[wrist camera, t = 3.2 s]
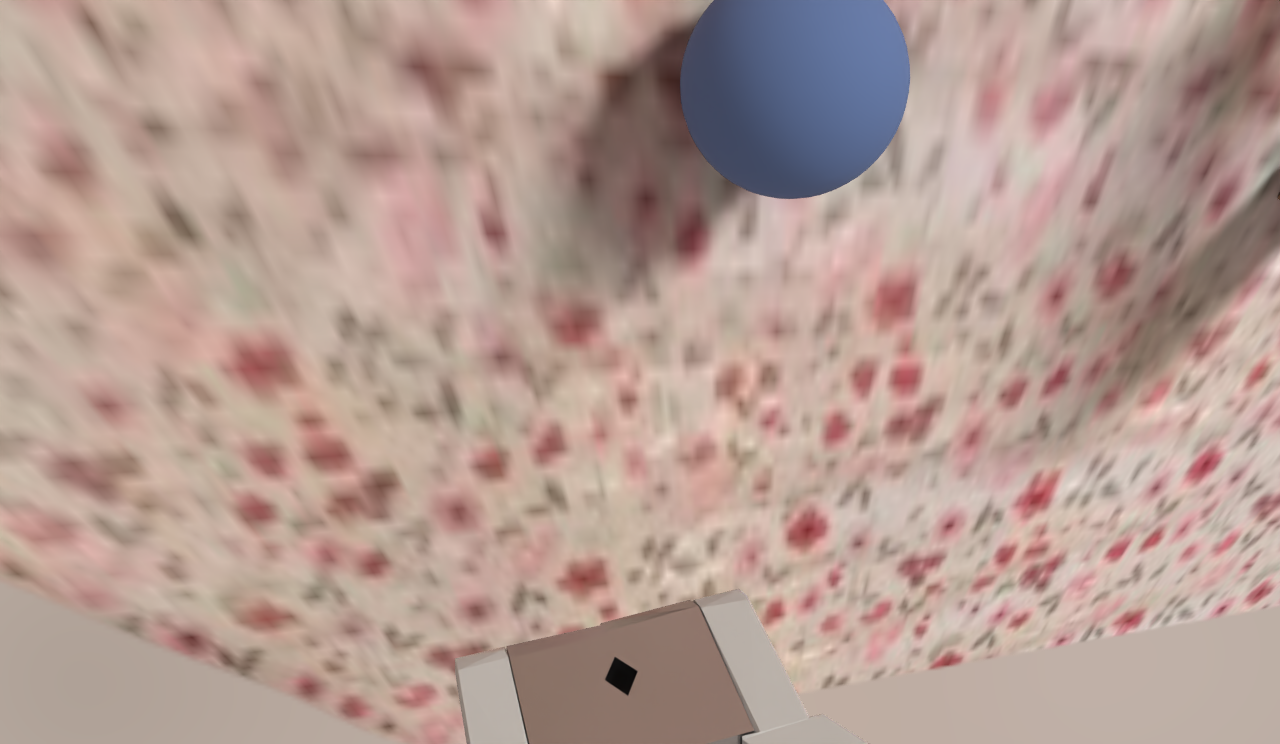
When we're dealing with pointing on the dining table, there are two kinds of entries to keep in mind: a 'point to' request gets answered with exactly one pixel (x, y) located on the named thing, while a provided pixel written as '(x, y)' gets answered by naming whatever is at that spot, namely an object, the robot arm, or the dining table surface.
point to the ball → (794, 91)
